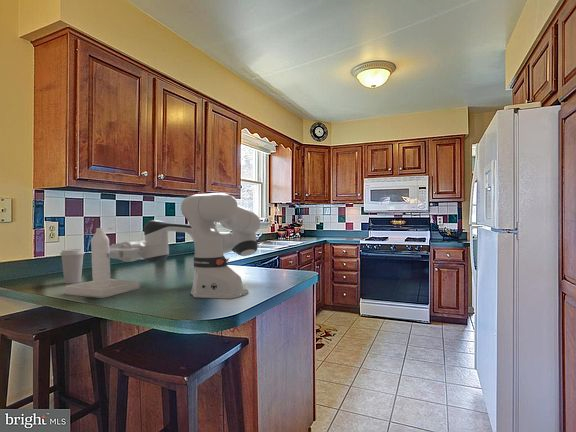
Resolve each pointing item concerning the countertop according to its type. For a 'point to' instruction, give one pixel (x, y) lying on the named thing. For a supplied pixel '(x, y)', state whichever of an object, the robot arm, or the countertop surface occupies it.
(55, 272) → the countertop surface
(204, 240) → the robot arm
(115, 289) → the tray
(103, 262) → the water bottle
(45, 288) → the countertop surface
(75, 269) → the coffee cup
